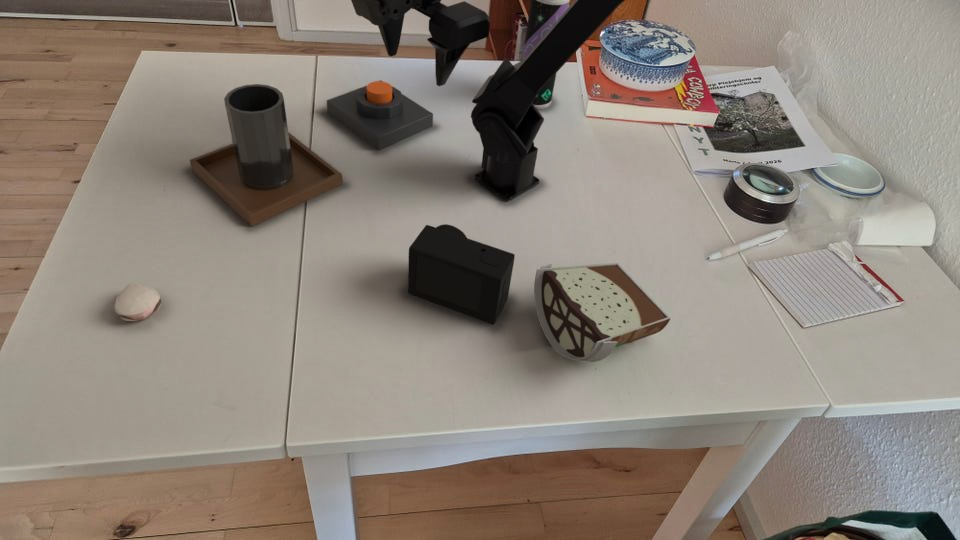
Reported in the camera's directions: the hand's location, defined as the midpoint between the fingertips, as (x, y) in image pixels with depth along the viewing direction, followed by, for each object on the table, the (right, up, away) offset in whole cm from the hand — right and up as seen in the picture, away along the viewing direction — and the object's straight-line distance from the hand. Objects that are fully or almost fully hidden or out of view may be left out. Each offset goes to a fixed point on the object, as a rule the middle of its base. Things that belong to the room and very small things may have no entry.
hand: (415, 69), depth 83 cm
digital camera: (+6, -28, -9) cm, 30 cm away
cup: (-19, -13, +3) cm, 23 cm away
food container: (+25, -29, -11) cm, 40 cm away
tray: (-19, -13, +3) cm, 24 cm away
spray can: (+17, +2, +23) cm, 28 cm away
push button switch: (-7, -3, +15) cm, 17 cm away
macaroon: (-27, -29, -14) cm, 42 cm away
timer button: (-6, 0, +12) cm, 14 cm away
